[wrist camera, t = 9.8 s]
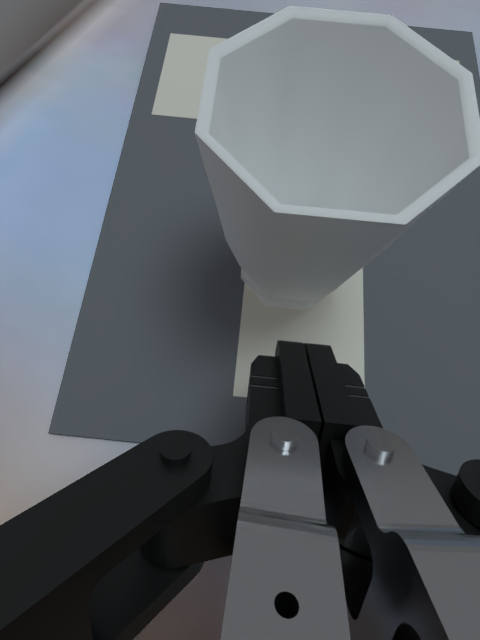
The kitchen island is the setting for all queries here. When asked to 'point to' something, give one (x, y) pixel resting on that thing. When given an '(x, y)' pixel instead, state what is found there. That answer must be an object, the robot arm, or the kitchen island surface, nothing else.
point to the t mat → (242, 303)
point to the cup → (329, 144)
